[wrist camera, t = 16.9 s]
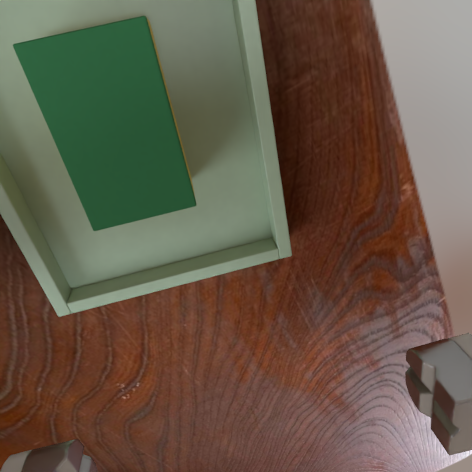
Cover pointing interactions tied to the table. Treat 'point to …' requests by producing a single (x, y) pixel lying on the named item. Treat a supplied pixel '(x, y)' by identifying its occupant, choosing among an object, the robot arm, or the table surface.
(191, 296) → the table surface
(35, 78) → the sponge
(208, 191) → the tray
